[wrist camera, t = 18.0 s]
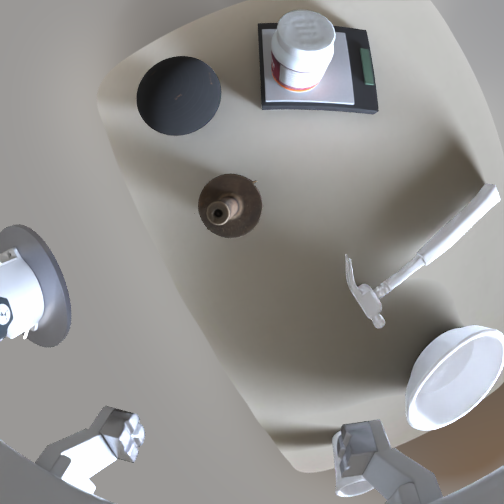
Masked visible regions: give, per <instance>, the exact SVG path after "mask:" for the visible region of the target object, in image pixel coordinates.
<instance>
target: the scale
mask: <svg viewBox="0 0 504 504" xmlns="http://www.w3.org/2000/svg"><path fill="white" fill-rule="evenodd" d="M277 25H278V23H259V24H258V36H259V56H260V78H261V101H262V110H270V109H304V110H329V111H344V112H356V113H366V114H375V113H376V112H378V101H377V92H376V84H375V77H374V70H373V64H372V58H371V52H370V47H369V42H368V37H367V32H366V30H360V29H354V28H347V27H339V26H333V27H334V29H335V40H334V43H333V46H334V52H333V56H332V59H331V61H330V62H329V64H328V66H327V68H326V70H325V72H324V74H323V76H322V78H321V80H320V81H319V83H318V84H317V85H316V86H315V87H314V88H313V89H311V90H309V91H306V92H291V91H288V90H286V89H284V88H282V87H281V86H280V85H278V84H277V82H276V81H275V80H274V78H273V76H272V71H271V40H272V37H273V34H274V33H275V31H276V30H277Z"/></svg>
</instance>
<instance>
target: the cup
mask: <svg viewBox="0 0 504 504" xmlns="http://www.w3.org/2000/svg"><path fill="white" fill-rule="evenodd" d="M340 435H341V431H339V432H338V433H336V434H335V435H334V436H333V438H332V444H333V453H334V463H335V473H336V495H338V496H341V497H351V496H356V495H360V494H363V493H365V492H368V491H370V490H371V489H373V488H374V487H373V486H372V485H371V484H370V483H369V482H368V481H367V480H366V479H365V478H364V477H363V476H362V475H359V476H352V477H344V478H341V472H340V466H339V465H340V462H341V459H340V458H339V457H338V454H337V440H338V437H339V436H340Z"/></svg>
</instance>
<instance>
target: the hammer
mask: <svg viewBox="0 0 504 504" xmlns="http://www.w3.org/2000/svg"><path fill="white" fill-rule="evenodd" d="M498 201H500V196H499V193H498V191H497V188H496V186H495V185H494V184H485V185H484V186H483V187H482V188H481V190H480V191H479V192H478V194H477V195H476V196H475V197H474V198H473V199H472V201H471V202H470V203H469V204H468V205H467V206H466V207H465V208H464V209H463V210H462V211H461V212H460V213H458V214H457V215H456V216H455V217H454V218H453V219H452V220H450V221H449V222H448V223H447V224H446V225H445V226H444V227H442V228H441V229H440V230H439V231H438V232H437V233H436V234H435V235H434V236H433V237H432V238H431V239H430V240H429V241H428V242H427V243H426V244H425V245H424V246H423V247H422V248H421V249H420V250H419V251H418V252H417V255H416V256H415V257H414V258H413V259H412V260H411V261H410V262H409V263H407V264H406V265H405V266H404V267H403V268H401V269H400V270H399V271H398V272H396V273H395V274H394V275H392V276H391V277H390V278H388V279H387V280H385V281H384V282H383V283H381V284H380V285H379V286H377V287H376V288H375V289H374V290H372V288H371V287H370V286H369V285H367V284H361V285H360V286H358V287H357V286H356V283H355V280H354V275H353V269H352V263H351V259H350V258H349V262H348V256H347V254H346V255H345V262H346V279H347V284H348V286H349V289H350V291H351V292H352V294H353V296H354V297H355V299H356V300H357V302H358V303H359V305H360V306H361V308H362V309H363V311H364V312H365V314H366V316H367V317H368V318H369V319H372V320H373V324H374V325H375V327H376V328H382V327H383V326H384V325H385V320H384V318H383V317H382V316H381V315H380V314H379V313H380V312H381V311H382V304H381V303H380V301H379V299H380V298H381V297H384V295H385V294H388V292H389V291H392V289H393V288H395V287H396V286H397V285H398V284H400V283H401V282H402V281H403V280H405V279H406V278H407V277H408V276H410V275H411V274H412V273H414V272H415V271H416V270H417V269H419V268H420V267H421V266H423V265H428V264H429V263H430V262H432V261H433V260H434V259H435V258H437V257H438V256H439V255H441V254H442V253H443V252H444V251H446V250H447V249H448V248H449V247H451V246H452V245H453V244H454V243H455V242H456V241H457V240H458V239H460V238H461V237H462V235H463V234H464V233H465V232H466V231H467V230H468V229H469V228H470V227H471V226H472V225H473V224H474V223H475V222H476V221H477V220H478V219H479V218H480V217H481V216H483V215H484V214H485V213H486V212H487V211H488V210H489V209H490V208H491V207H493V206H494V205H495V204H496V203H497V202H498Z"/></svg>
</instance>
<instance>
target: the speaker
mask: <svg viewBox="0 0 504 504" xmlns="http://www.w3.org/2000/svg"><path fill="white" fill-rule="evenodd" d="M220 100H221V86H220V82H219V79H218V77H217V75H216V74H215V72H214V71H213V70H212V68H211V67H210V66H208V65H207V64H206V63H204V62H203V61H201V60H199V59H196V58H193V57H187V56H177V57H171V58H168V59H165V60H163V61H161V62H159V63H157V64H156V65H154V66H153V67H152V68H151V69H150V70H149V71H148V72H147V73H146V74H145V75H144V77H143V78H142V80H141V82H140V84H139V87H138V91H137V107H138V111H139V113H140V115H141V117H142V119H143V120H144V121H145V123H146V124H147V125H148V126H150V127H151V128H152V129H154V130H155V131H157V132H160V133H163V134H166V135H175V136H176V135H185V134H189V133H192V132H194V131H196V130H198V129H200V128H202V127H203V126H204V125H206V124H207V123H208V122H209V121H210V120H211V119H212V117H213V116H214V115H215V113H216V111H217V109H218V107H219V104H220Z"/></svg>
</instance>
